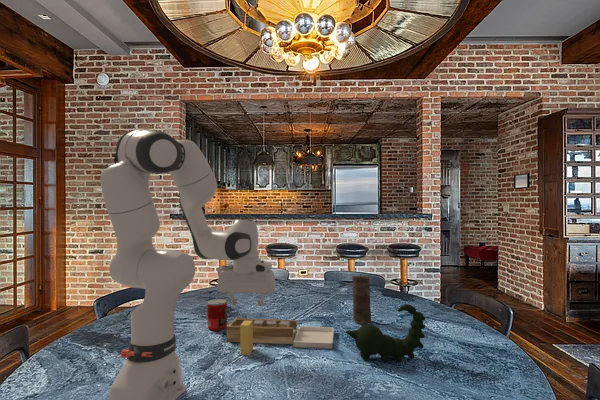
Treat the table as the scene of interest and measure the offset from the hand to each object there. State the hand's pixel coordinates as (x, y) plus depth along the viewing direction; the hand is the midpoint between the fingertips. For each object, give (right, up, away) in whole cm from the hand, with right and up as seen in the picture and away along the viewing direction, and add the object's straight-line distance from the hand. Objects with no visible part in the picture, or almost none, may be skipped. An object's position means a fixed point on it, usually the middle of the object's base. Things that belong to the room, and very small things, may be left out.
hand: (247, 304), depth 123 cm
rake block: (0, -16, -1) cm, 16 cm away
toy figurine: (+46, -16, -8) cm, 50 cm away
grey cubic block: (+3, -14, +12) cm, 19 cm away
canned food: (-16, -17, +24) cm, 33 cm away
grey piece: (+8, -14, +12) cm, 20 cm away
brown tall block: (+45, -16, +28) cm, 55 cm away
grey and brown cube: (+13, -14, +11) cm, 22 cm away
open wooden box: (+4, -16, +12) cm, 21 cm away
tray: (+24, -16, +9) cm, 30 cm away
